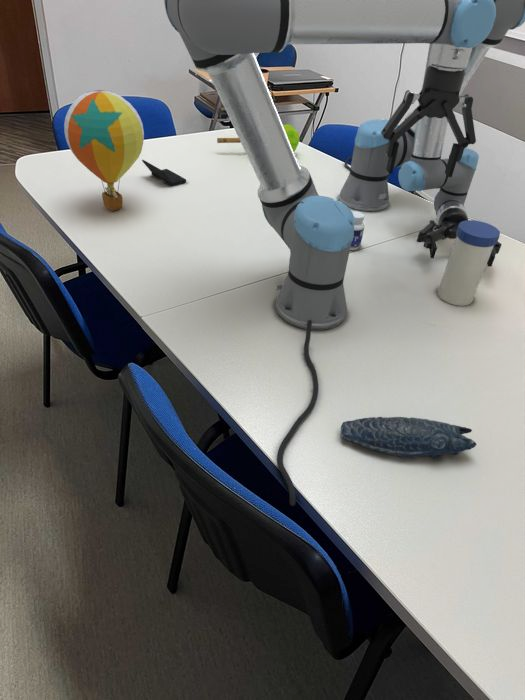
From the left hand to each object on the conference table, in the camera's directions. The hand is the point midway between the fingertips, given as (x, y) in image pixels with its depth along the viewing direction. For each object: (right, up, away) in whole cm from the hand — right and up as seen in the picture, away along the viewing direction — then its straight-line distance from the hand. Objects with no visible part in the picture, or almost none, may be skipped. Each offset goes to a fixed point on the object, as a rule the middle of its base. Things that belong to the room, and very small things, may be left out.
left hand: (418, 173), depth 116 cm
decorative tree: (-37, +32, +73) cm, 88 cm away
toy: (-77, 0, +29) cm, 82 cm away
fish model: (-12, -55, -32) cm, 65 cm away
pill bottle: (-12, -12, +22) cm, 28 cm away
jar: (+10, -27, +6) cm, 29 cm away
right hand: (+13, -18, +8) cm, 23 cm away
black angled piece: (-66, +14, +48) cm, 83 cm away
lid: (+11, -14, -5) cm, 19 cm away
